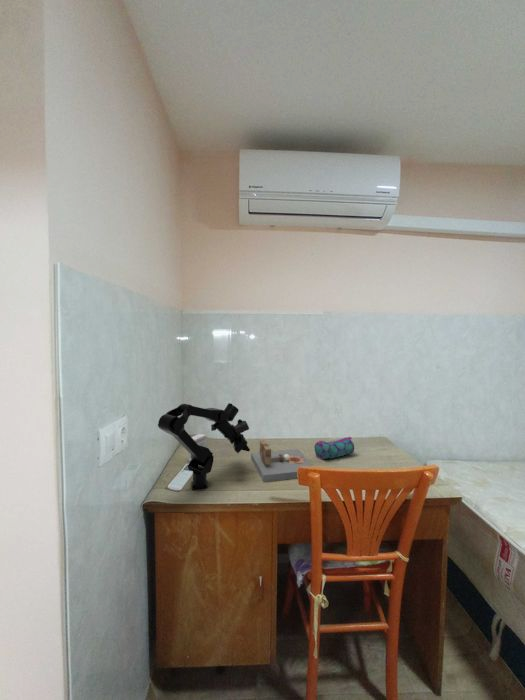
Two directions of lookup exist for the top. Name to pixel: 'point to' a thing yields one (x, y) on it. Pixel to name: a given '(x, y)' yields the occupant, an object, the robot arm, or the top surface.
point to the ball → (286, 457)
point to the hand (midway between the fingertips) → (249, 450)
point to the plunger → (268, 454)
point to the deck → (280, 465)
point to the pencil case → (334, 448)
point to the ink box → (199, 442)
